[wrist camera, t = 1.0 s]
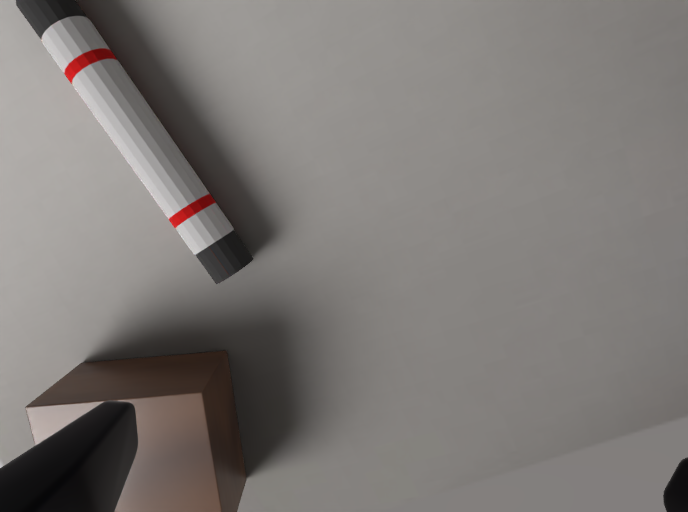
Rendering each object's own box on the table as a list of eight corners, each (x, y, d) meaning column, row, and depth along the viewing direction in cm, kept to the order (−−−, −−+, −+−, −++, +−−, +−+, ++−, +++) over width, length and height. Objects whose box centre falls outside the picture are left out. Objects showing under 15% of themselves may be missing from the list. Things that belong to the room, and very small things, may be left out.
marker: (257, 254, 21) (249, 264, 19) (222, 277, 21) (209, 289, 19) (36, -68, 18) (-1, -95, 16) (-3, -39, 18) (-43, -62, 16)
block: (246, 479, 23) (227, 544, 19) (109, 490, 23) (63, 557, 20) (227, 349, 22) (202, 392, 18) (81, 362, 22) (24, 407, 18)
